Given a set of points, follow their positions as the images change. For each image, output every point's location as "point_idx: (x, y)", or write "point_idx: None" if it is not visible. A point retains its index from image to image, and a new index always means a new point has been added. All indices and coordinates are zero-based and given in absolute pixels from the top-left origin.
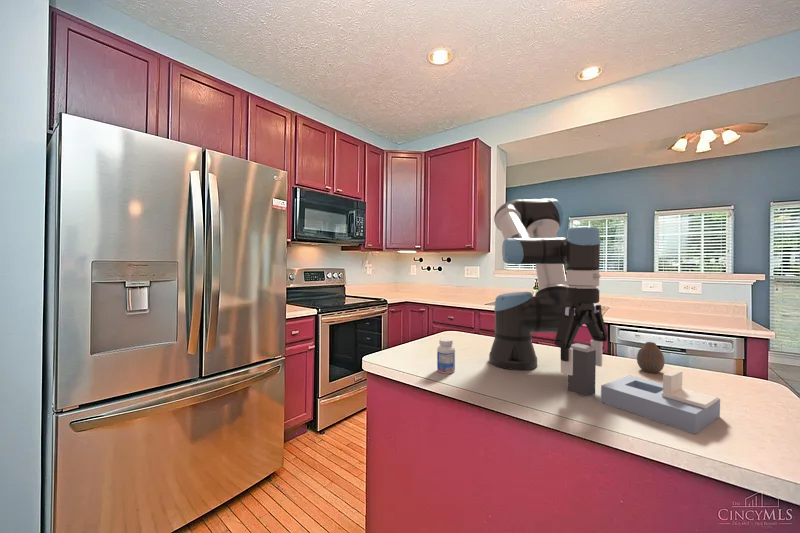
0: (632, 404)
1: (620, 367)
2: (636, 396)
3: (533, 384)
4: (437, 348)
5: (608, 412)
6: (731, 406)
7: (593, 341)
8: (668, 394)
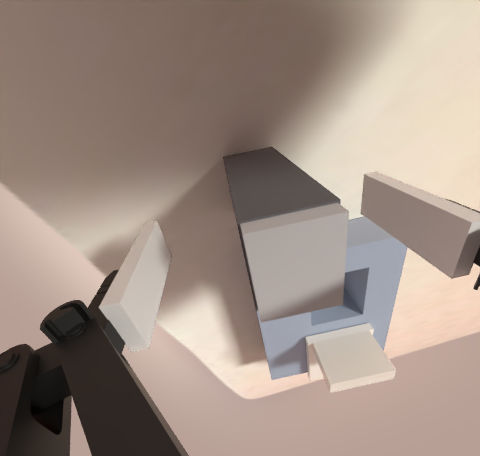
0: None
1: None
2: (260, 326)
3: (138, 50)
4: None
5: (209, 281)
6: (429, 311)
7: (461, 237)
8: (308, 350)
